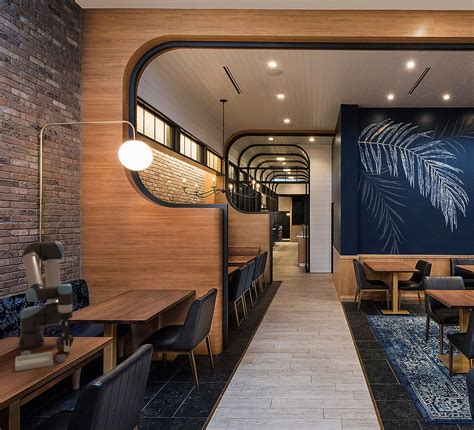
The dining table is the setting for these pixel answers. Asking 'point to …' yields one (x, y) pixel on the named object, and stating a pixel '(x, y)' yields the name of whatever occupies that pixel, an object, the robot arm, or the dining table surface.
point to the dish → (33, 361)
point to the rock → (61, 343)
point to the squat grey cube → (61, 358)
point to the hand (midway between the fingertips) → (65, 348)
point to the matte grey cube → (25, 353)
